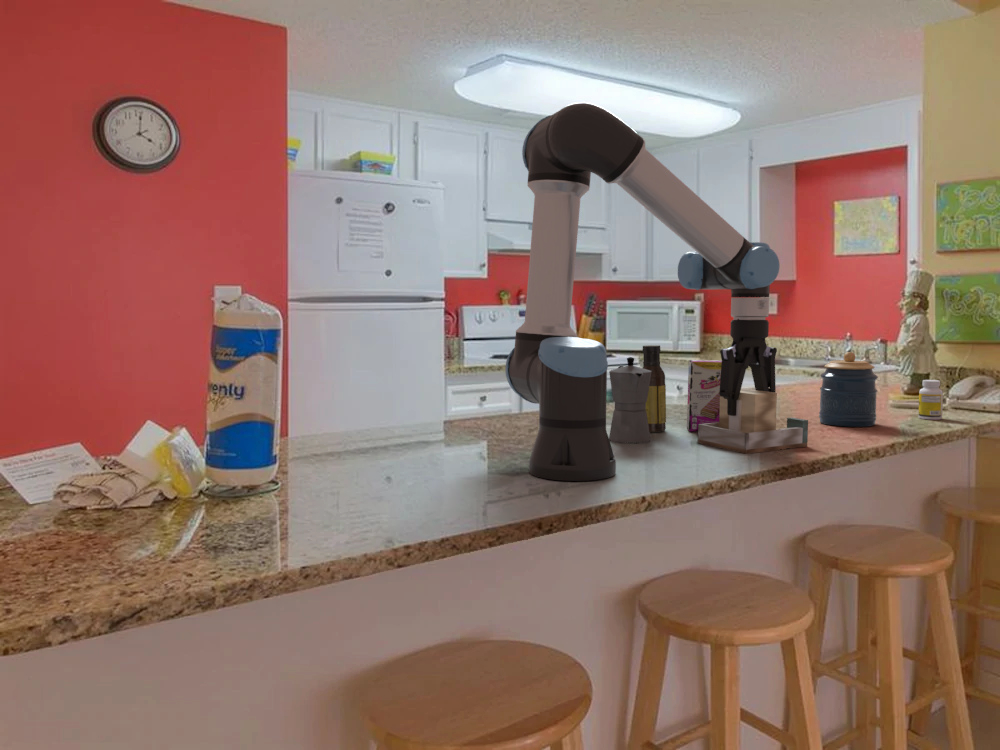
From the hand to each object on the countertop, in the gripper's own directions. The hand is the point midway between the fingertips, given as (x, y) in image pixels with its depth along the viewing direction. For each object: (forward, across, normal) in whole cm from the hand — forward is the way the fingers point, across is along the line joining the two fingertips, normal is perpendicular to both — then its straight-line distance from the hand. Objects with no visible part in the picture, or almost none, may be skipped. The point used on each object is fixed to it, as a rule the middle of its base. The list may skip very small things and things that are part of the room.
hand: (746, 429), depth 170 cm
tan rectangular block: (+1, 0, 0) cm, 1 cm away
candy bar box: (+3, +7, +18) cm, 20 cm away
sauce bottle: (+3, -5, +25) cm, 26 cm away
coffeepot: (+3, -17, +18) cm, 25 cm away
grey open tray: (+3, +2, 0) cm, 4 cm away
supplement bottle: (+3, +70, +7) cm, 70 cm away
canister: (+4, +44, +11) cm, 45 cm away
